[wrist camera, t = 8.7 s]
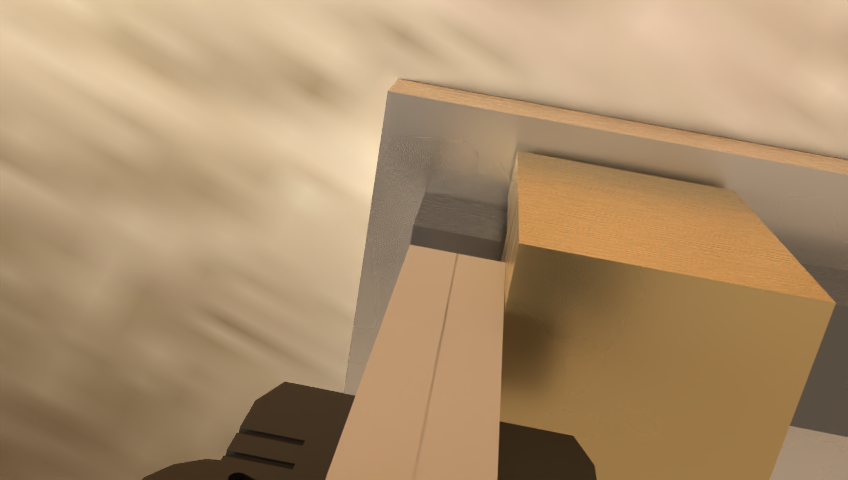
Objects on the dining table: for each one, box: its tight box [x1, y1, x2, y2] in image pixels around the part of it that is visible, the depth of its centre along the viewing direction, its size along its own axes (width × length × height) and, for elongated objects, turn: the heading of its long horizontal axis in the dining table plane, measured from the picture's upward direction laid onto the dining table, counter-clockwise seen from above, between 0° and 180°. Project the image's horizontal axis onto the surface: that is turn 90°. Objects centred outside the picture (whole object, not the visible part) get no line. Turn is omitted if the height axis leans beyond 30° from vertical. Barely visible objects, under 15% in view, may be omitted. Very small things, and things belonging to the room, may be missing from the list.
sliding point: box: [500, 151, 836, 480], centre depth 14 cm, size 9×4×5 cm, turn 171°
